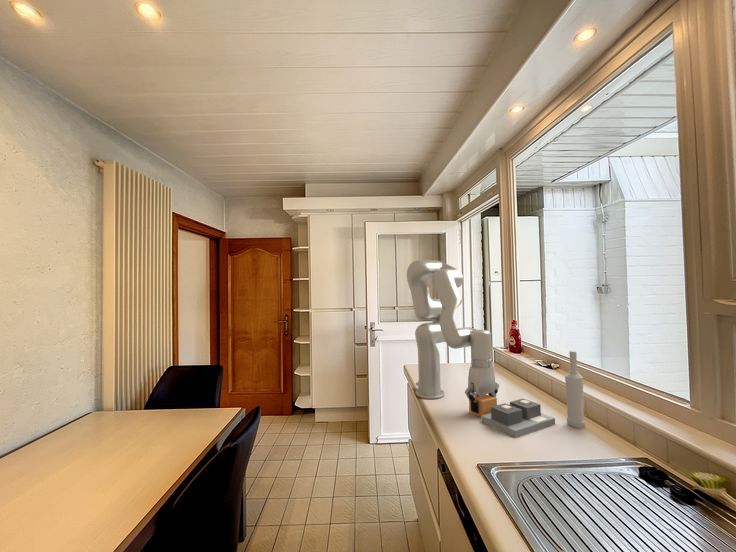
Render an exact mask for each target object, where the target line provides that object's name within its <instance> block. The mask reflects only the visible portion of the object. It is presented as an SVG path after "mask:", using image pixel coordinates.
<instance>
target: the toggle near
mask: <svg viewBox="0 0 736 552" xmlns="http://www.w3.org/2000/svg"><path fill="white" fill-rule="evenodd" d="M508 405H509V404H508ZM508 405H503V406H501V409H504V410H506V411H508V410H512V407H510V406H508Z"/></svg>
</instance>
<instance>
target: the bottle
mask: <svg viewBox="0 0 736 552" xmlns="http://www.w3.org/2000/svg"><path fill="white" fill-rule="evenodd" d="M577 355H578V353H577V351H576V350H569V368H570V369H569V371H568V372H567V373H566V374H565V375H564V379H565V380H564V381H565V383H564V384H565V395H566V396H565V397H566V398H565V399H566V412H567V417H566V423H567V425H568V426H569V427H572V428H574V429H575V428H576V429H582V428H584V427H585V425H586V424H585V423H586V421H585V420H584V418H585V417H584V414H585V413H584V377H583V376H582V375H581V374H580V373H579V371H578V361H577Z"/></svg>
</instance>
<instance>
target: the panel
mask: <svg viewBox="0 0 736 552" xmlns="http://www.w3.org/2000/svg"><path fill="white" fill-rule="evenodd" d="M522 400H526V401H529V402H530V404H529V405H523V404H520V401H522ZM503 405H508V406H510V407H512V410H508V411H506V410H504V409H501V406H503ZM541 407H542V406H541V404H540V403H538V402H534V401H532V400H530V399H529V400H528V399H525V398H520V399H516V400H512V401H510V402H509V404H508V403H502V404H497V406H493V407H491V413H490V414H486V415H482V418H481V422H482V423H484V424H486V425H488V426H490V427H493V428H495V429H497V430H498V431H499V430H500V431H502V432H503V433H505V434H508V435H509V436H512V437H514V438H518V437H521V436H524V435H526V434H530V433H533V432H536V431H538V430H542V429H544V428H547V427H550V426H553V425H555V424H556V418H555V417H553V416H550V415H548V414H545V413H542V411H541Z"/></svg>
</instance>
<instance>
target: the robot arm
mask: <svg viewBox="0 0 736 552" xmlns="http://www.w3.org/2000/svg"><path fill="white" fill-rule="evenodd" d="M426 279H432V282H433V285H434V288H435V291H436V294H437V296H438V298H432V296H431V290H430V288H429V286H428V283H426V281H425V280H426ZM406 280H407V284H408V287H409V290H410V294H411V300H412V305H413V306H412V307H413V311H414V315H415V317H416V318H417V319H418V320H420V321H429V320H431V322H425V323H421V324H419V325H418V326H417V327H416V328H415V332H414V336H415V340H416V347H417V348H416V349H417V363H418V364H417V365H418V366H417V367H418V368H417V369H418V381H416V382H415V385H416V386H417V389H415V395H416V396H417V397H418V398H421V399H427V400H431V399H432V400H434V399H435V400H436V399H440V398H443V397H444V396H445V391H444V390H443V389H441V359H440V357H441V355H440V351H439V349H438V347H437V344H441V343H446V344H447V346H448V347H450V348H451V349H454V350H455V349H456V350H457V349H462V348H467V347H468V348H469V347H470V359H471V360H470V363H471V364H470V367H469V369H468V378H467V380H468V382H467V387H466V389H465V390H464V394H465V396H466V397H467V399H468V401H469V400H470V401H471V411H472V412H475V413H478V402H477V400H478V397H479V396H480V395H484V394H486V395H489V396H492V397H494V398H497V394H498V392H499V388H500V383H498V382H496V376H495V370H494V366H493V360H494V359H493V348H492V346H493V345H492V333H491V331H489V330H487V329H476V328H473V327H470V326H469V327H468V326H467V327H460V328H459V327H458V328H457V326H456V323H455V318H454V317H455V316H454V315H455V311H456V309H457V308H458V307H460V306H461V305H462V303H463V300H462V297H461V295H460V292H459V290H458V288H460V287H461V286H462V285H463V284H464V276H463V274H462V272H461V271H460V270H459V269H458V268H456V267H454V266H452V265H449V264H448V263H445V262H444V261H441V260H437V259H434V260H432V259H417V260H414V261H411V263H410V264H409V266H408V267H407V270H406ZM474 395H475V398H474Z"/></svg>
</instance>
